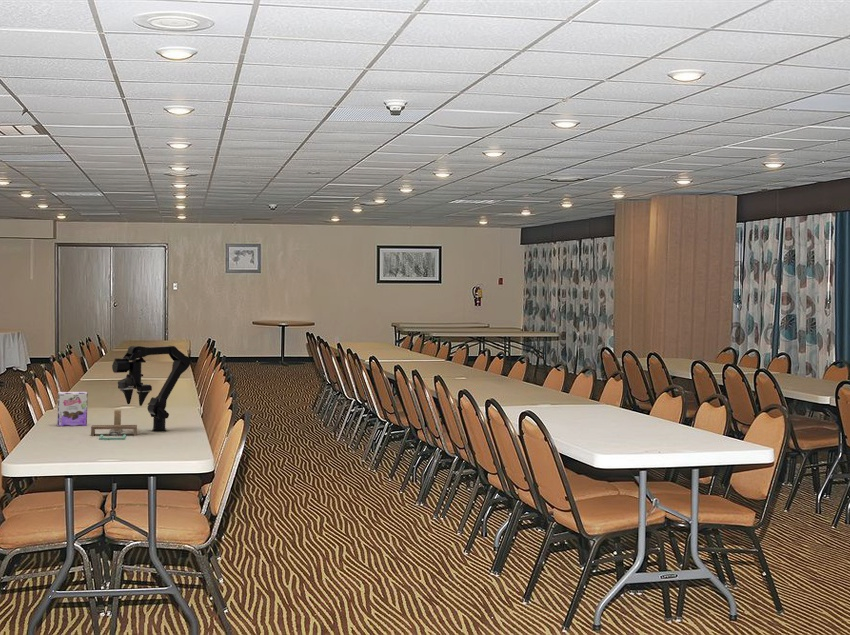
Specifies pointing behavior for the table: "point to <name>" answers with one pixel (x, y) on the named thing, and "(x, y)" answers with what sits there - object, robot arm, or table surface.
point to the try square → (117, 420)
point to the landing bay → (112, 438)
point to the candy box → (72, 409)
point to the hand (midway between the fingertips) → (134, 404)
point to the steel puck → (114, 433)
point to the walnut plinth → (113, 428)
